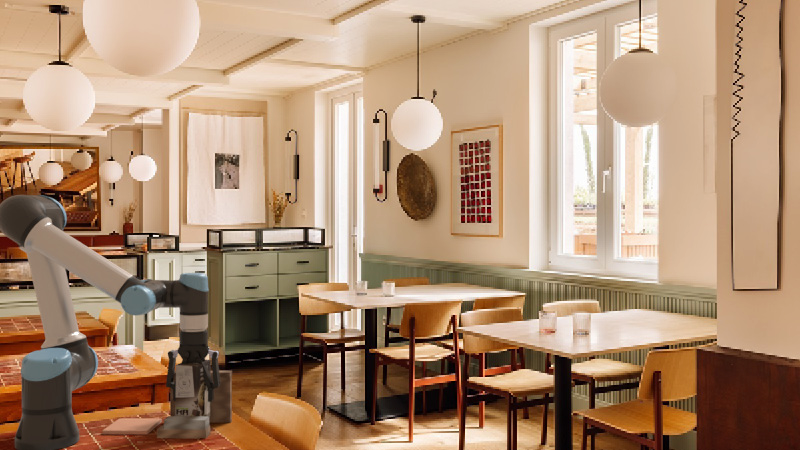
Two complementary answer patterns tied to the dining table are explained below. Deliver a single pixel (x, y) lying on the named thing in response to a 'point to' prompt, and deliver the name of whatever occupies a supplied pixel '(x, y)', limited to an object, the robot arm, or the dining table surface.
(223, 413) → the brown rectangular wooden panel
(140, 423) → the terracotta tile
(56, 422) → the robot arm
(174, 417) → the offcut stack
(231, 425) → the dining table surface
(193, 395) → the coffee box
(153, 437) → the dining table surface
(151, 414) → the dining table surface
